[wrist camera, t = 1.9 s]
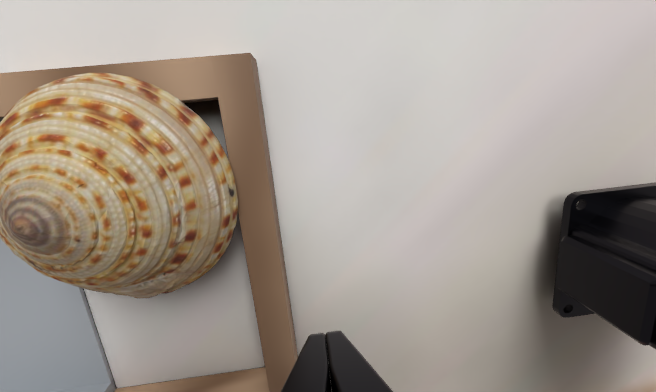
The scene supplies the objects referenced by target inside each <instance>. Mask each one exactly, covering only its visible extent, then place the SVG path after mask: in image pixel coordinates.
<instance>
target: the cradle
mask: <svg viewBox="0 0 656 392" xmlns="http://www.w3.org/2000/svg"><path fill="white" fill-rule="evenodd" d="M85 73H111V74H116V75H122V76H128V77H133V78H136V79H139V80H141V81H144V82H147V83H150V84H153V85H155V86H157V87H159V88H161V89H163V90H165V91H167V92H169V93H170V94H172V95H174V96H175V97H177V98H179V99H180V100H181V101H182V102H183V103H189V102H200V101H211V100H219V106H220V112H221V118H222V123H223V129H224V135H225V140H226V146H227V152H228V157H229V163H230V165H231V168H232V172H233V176H234V179H235V185H236V191H237V198H238V215H239V220H240V226H241V232H242V237H243V243H244V249H245V254H246V260H247V266H248V272H249V277H250V283H251V289H252V294H253V300H254V306H255V312H256V317H257V323H258V329H259V334H260V340H261V346H262V351H263V357H264V363H265V367H262V368H255V369H248V370H241V371H235V372H228V373H221V374H214V375H207V376H200V377H193V378H186V379H180V380H173V381H166V382H159V383H152V384H145V385H138V386H132V387H125V388H118V389H116V390H115V391H114V392H281V390H282V388H283V386H284V384H285V382H286V380H287V378H288V376H289V374H290V372H291V370H292V368H293V366H294V364H295V362H296V360H297V358H298V355H297V347H296V340H295V333H294V326H293V319H292V312H291V305H290V298H289V291H288V283H287V276H286V269H285V262H284V255H283V248H282V241H281V234H280V227H279V219H278V212H277V205H276V198H275V191H274V184H273V177H272V170H271V163H270V156H269V148H268V141H267V134H266V127H265V120H264V113H263V106H262V99H261V92H260V84H259V77H258V70H257V63H256V59H255V58H254V57H253V56H252V54H251V53H243V54H231V55H218V56H206V57H194V58H182V59H170V60H157V61H145V62H133V63H121V64H109V65H96V66H84V67H72V68H60V69H47V70H35V71H23V72H11V73H0V118H4V117H5V115H6V114H7V113H8V112H9V111H10V109H11V108H12V107H13V106H14V105H15V104H16V103H17V102H18V101H19V100H20V99H21V98H23V97H24V96H25V95H26V94H28V93H29V92H31V91H33V90H34V89H36V88H38V87H40V86H43V85H45V84H48V83H50V82H53V81H55V80H58V79H61V78H65V77H69V76H73V75H79V74H85Z"/></svg>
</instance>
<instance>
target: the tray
mask: <svg viewBox="0 0 656 392" xmlns="http://www.w3.org/2000/svg"><path fill="white" fill-rule="evenodd" d="M2 119H3V118H0V122H1V121H2ZM115 390H116V386H115V383H114V380H113V377H112V374H111V372H110V369H109V366H108V363H107V360H106V357H105V354H104V351H103V348H102V345H101V342H100V339H99V336H98V333H97V330H96V327H95V324H94V321H93V318H92V315H91V312H90V309H89V306H88V303H87V300H86V297H85V294H84V291H83V288H80V287H76V286H73V285H71V284H67V283H64V282H61V281H58V280H56V279H53V278H50V277H47V276H45V275H43V274H41V273H40V272H38V271H37V270H35V269H34V268H32V267H31V266H29V265H28V264H27V263H26V262H25V261H23V260H22V259H20V258H19V257H17V256H16V255H15V254H14V253H13V252H12V251H11V250H10V249H9V247H8V246H7V245H6V244H5V243H4V242H3V241H2V240H1V238H0V392H114V391H115Z"/></svg>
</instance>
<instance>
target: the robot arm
mask: <svg viewBox="0 0 656 392" xmlns="http://www.w3.org/2000/svg"><path fill="white" fill-rule="evenodd" d="M578 201H579V203H578V205H577V206H576V204H577V202H578ZM553 309H554V311H555V312H556V313H558V314H559V315H560V316H562V317H574V316H581V315H588V314H597V315H598V316H600V317H601V318H603V319H604V320H606V321H607V322H609V323H610V324H612V325H613V326H615V327H616V328H618V329H619V330H621V331H622V332H624V333H625V334H627V335H628V336H630V337H631V338H633V339H634V340H636V341H637V342H638V343H640V344H642V345H650V346H651V347H653V348H654V349H656V183H649V184H640V185H632V186H623V187H615V188H606V189H598V190H589V191H581V192H574V193H571V194H570V195H568V196H567V198H566V199H565V201H564V207H563V216H562V225H561V234H560V243H559V252H558V261H557V270H556V279H555V288H554V298H553ZM326 345H327V346H326ZM327 353H328V355H327ZM328 362H329V364H328ZM329 371H330V373H329ZM330 380H331V382H330ZM331 389H332V390H331ZM281 392H393V391H392V390H391V389H390V387H389V386H388V385H387V384H386V383H385V382H384V380H383V379H382V378H381V377H380V376H379V375H378V373H377V372H376V371H375V370H374V369H373V368H372V366H371V365H370V364H369V363H368V362H367V361H366V359H365V358H364V357H363V356H362V355H361V354H360V353H359V351H358V350H357V349H356V348H355V347H354V346H353V344H352V343H351V342H350V341H349V340H348V339H347V337H346V336H345V335H344V334H343V333H342V332H341V331H333V332H327V333H326V337H325V334H324V333H318V334H311V335H310V336H309V337H308V339H307V341H306V343H305V345H304V347H303V349H302V350H301V352H300V354H299V356H298V358H297V360H296V362H295V364H294V366H293V368H292V370H291V372H290V374H289V376H288V378H287V380H286V382H285V384H284V386H283V388H282V390H281Z"/></svg>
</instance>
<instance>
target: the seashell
mask: <svg viewBox="0 0 656 392" xmlns="http://www.w3.org/2000/svg"><path fill="white" fill-rule="evenodd" d="M237 213H238V198H237V191H236V185H235V179H234V176H233V172H232V168H231V165H230V163H229V160H228V158H227V156H226V154H225V152H224V150H223V148H222V146H221V144H220V143H219V141H218V139H217V138H216V136H215V135H214V134H213V132H212V131H211V129H210V128H209V127H208V125H207V124H206V123H205V122H204V121H203V120H202V118H201V117H200V116H199V115H197V114H196V113H195V112H193V111H192V110H191V109H190V108H188V107H187V106H186V105H185V104H184V103H183V102H182V101H181V100H180V99H179V98H177V97H175V96H174V95H172V94H170V93H169V92H167V91H165V90H163V89H161V88H159V87H157V86H155V85H153V84H150V83H147V82H144V81H141V80H139V79H136V78H133V77H128V76H122V75H116V74H111V73H85V74H79V75H73V76H69V77H65V78H61V79H58V80H55V81H53V82H50V83H48V84H45V85H43V86H40V87H38V88H36V89H34V90H33V91H31V92H29V93H28V94H26V95H25V96H24V97H23V98H21V99H20V100H19V101H18V102H17V103H16V104H15V105H14V106H13V107H12V108H11V109H10V111H9V112H8V113H7V114H6V115H5V117H4V118H3V119H2V121H1V122H0V238H1V240H2V241H3V242H4V243H5V244H6V245H7V246H8V247H9V249H10V250H11V251H12V252H13V253H14V254H15V255H16V256H17V257H19V258H20V259H22V260H23V261H25V262H26V263H27V264H28V265H29V266H31V267H32V268H34V269H35V270H37V271H38V272H40V273H41V274H43V275H45V276H47V277H50V278H53V279H56V280H58V281H61V282H64V283H67V284H71V285H73V286H76V287H80V288H85V289H89V290H93V291H99V292H104V293H114V294H117V295H128V296H132V297H135V298H150V297H153V296H156V295H158V294H161V293H169V292H172V291H174V290H177V289H179V288H181V287H183V286H185V285H188V284H190V283H192V282H193V281H195V280H197V279H198V278H200V277H201V276H203V275H204V274H205V273H207V272H208V271H209V270H210V269H211V268H212V267H213V266H214V265H215V264H216V263H217V262H218V261H219V259H220V258H221V257H222V255H223V254H224V252H225V251H226V249H227V247H228V245H229V243H230V240H231V238H232V236H233V229H234V228H235V226H236V221H237Z"/></svg>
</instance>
